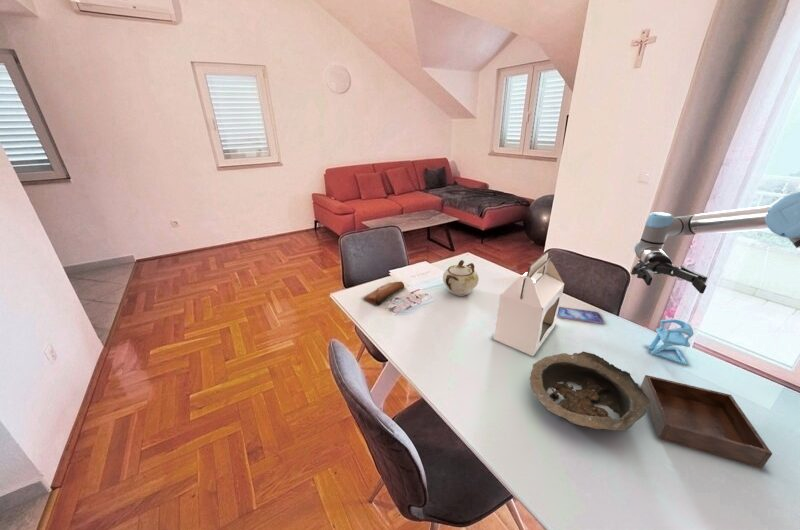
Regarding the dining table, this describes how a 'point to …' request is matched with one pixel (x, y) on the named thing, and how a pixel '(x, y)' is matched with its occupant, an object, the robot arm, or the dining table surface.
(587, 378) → the stone bowl
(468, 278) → the sugar bowl
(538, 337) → the gable box
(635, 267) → the robot arm
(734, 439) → the wooden tray
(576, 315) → the smartphone
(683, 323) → the chair
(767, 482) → the dining table surface
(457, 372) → the dining table surface
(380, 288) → the sunglasses case
